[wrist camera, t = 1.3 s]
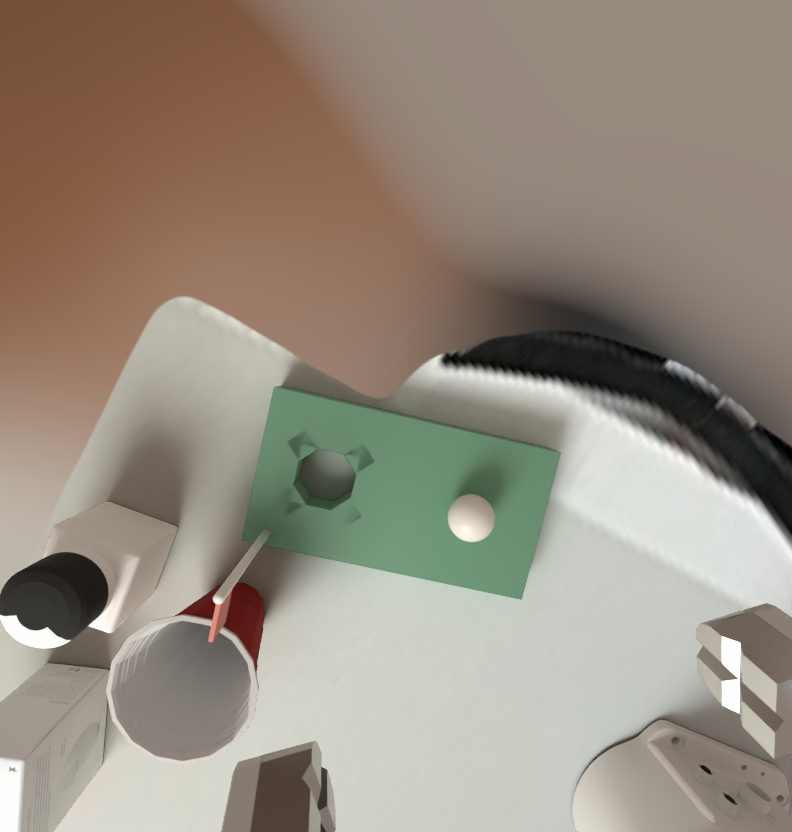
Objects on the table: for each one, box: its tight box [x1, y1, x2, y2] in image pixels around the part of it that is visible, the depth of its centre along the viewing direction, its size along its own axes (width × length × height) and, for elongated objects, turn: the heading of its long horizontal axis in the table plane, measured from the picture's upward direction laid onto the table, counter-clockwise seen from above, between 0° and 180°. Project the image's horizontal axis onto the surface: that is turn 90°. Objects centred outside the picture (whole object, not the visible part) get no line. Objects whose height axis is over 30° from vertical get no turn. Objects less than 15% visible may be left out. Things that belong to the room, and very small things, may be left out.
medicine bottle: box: [0, 502, 178, 648], centre depth 37 cm, size 7×7×12 cm
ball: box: [448, 494, 495, 542], centre depth 39 cm, size 4×4×4 cm
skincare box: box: [0, 663, 110, 832], centre depth 39 cm, size 10×6×10 cm, turn 172°
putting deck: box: [208, 386, 561, 642], centre depth 36 cm, size 26×16×15 cm, turn 77°
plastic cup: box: [106, 582, 265, 766], centre depth 38 cm, size 11×11×12 cm
